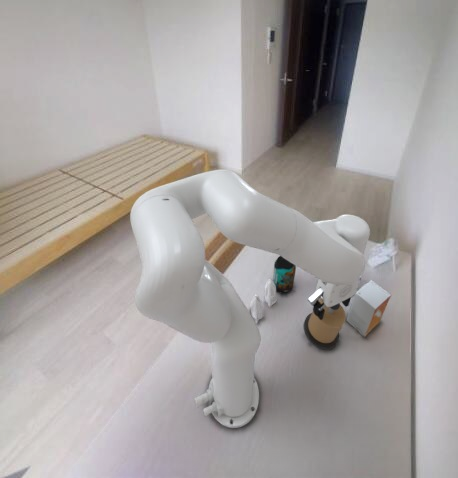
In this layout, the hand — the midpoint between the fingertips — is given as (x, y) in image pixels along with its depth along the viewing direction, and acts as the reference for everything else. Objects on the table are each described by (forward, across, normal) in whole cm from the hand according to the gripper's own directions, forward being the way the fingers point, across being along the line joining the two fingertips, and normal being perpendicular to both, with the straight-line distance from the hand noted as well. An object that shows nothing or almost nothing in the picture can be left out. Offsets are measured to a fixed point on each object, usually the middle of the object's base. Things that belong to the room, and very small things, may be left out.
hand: (330, 308), depth 73 cm
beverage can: (+13, -1, +19) cm, 23 cm away
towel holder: (+5, 0, -5) cm, 7 cm away
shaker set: (+13, -11, +15) cm, 23 cm away
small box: (+13, +14, -2) cm, 19 cm away
